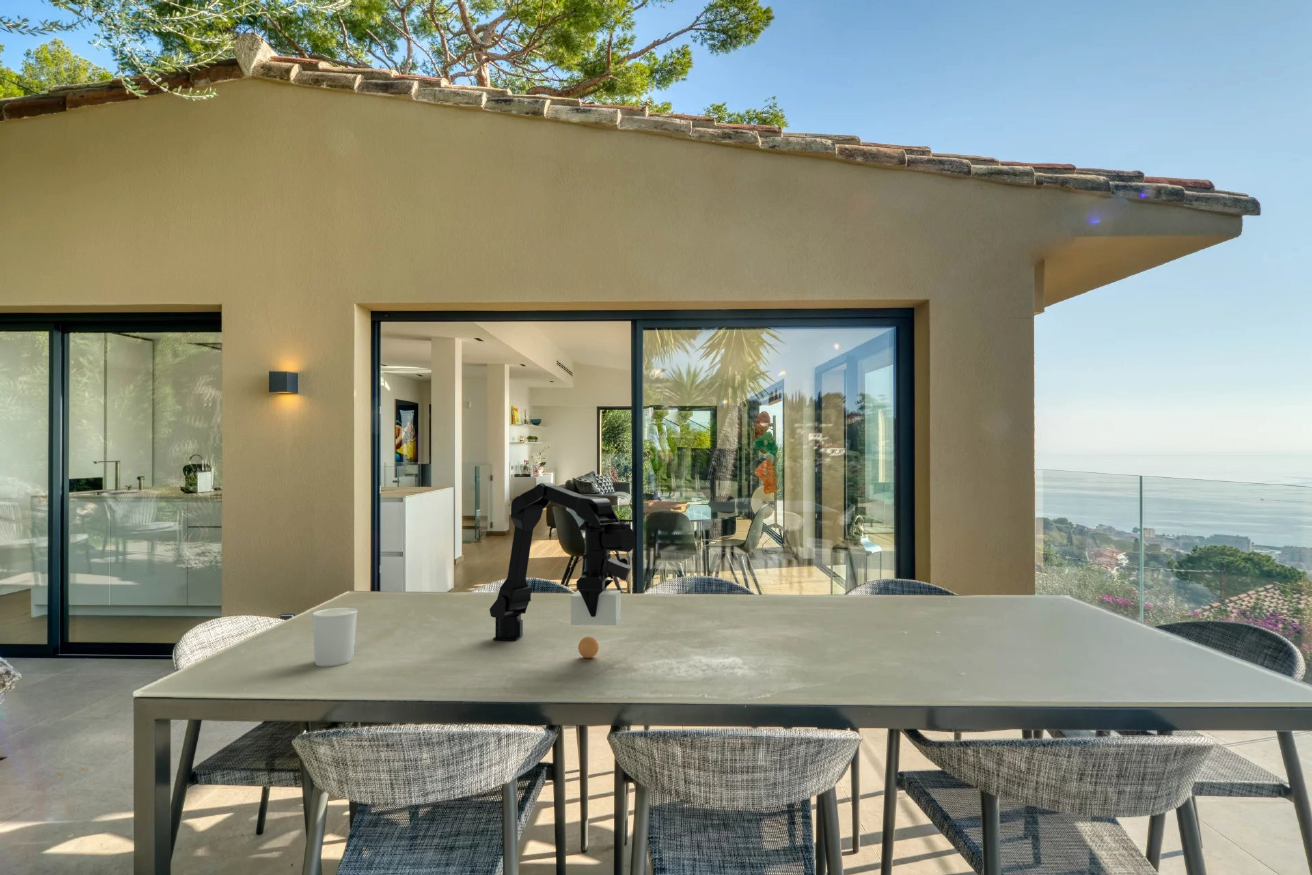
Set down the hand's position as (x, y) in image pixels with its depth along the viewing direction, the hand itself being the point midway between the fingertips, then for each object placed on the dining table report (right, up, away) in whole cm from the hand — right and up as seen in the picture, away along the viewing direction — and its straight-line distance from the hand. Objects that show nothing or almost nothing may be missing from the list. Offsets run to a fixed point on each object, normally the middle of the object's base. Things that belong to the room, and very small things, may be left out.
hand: (596, 612), depth 159 cm
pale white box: (0, -2, 0) cm, 2 cm away
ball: (-2, -8, 0) cm, 9 cm away
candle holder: (-63, -11, -2) cm, 64 cm away
